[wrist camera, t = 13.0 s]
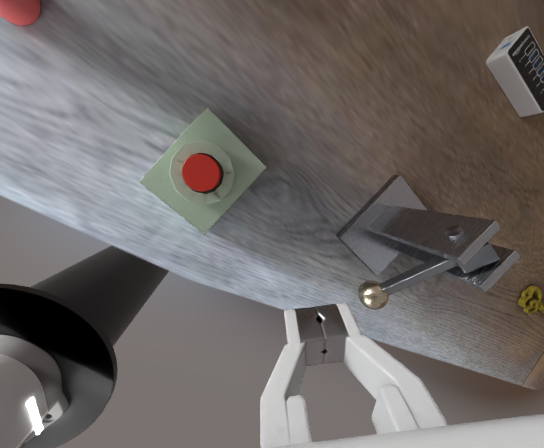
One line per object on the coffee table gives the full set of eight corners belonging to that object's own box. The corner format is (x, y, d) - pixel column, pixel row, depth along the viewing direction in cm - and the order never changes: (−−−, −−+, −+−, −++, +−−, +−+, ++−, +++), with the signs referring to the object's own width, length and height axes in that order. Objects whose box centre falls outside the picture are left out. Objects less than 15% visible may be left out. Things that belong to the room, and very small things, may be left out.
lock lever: (365, 297, 27) (371, 319, 24) (350, 282, 26) (355, 303, 23) (481, 244, 21) (506, 265, 18) (466, 223, 20) (490, 242, 17)
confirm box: (206, 230, 27) (201, 239, 23) (146, 181, 25) (130, 181, 21) (264, 168, 27) (269, 166, 23) (209, 113, 25) (204, 100, 21)
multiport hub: (520, 118, 32) (542, 114, 30) (484, 62, 29) (505, 52, 27) (540, 95, 32) (563, 88, 29) (505, 36, 29) (528, 23, 27)
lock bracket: (372, 272, 33) (466, 334, 19) (335, 235, 30) (414, 277, 17) (425, 216, 32) (559, 240, 19) (393, 175, 30) (519, 169, 17)
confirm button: (205, 197, 23) (203, 199, 21) (178, 174, 22) (173, 173, 20) (227, 173, 23) (227, 172, 21) (201, 148, 22) (198, 146, 20)
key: (568, 312, 40) (552, 332, 41) (558, 308, 42) (542, 328, 42) (536, 284, 38) (518, 306, 38) (526, 280, 39) (509, 302, 39)
